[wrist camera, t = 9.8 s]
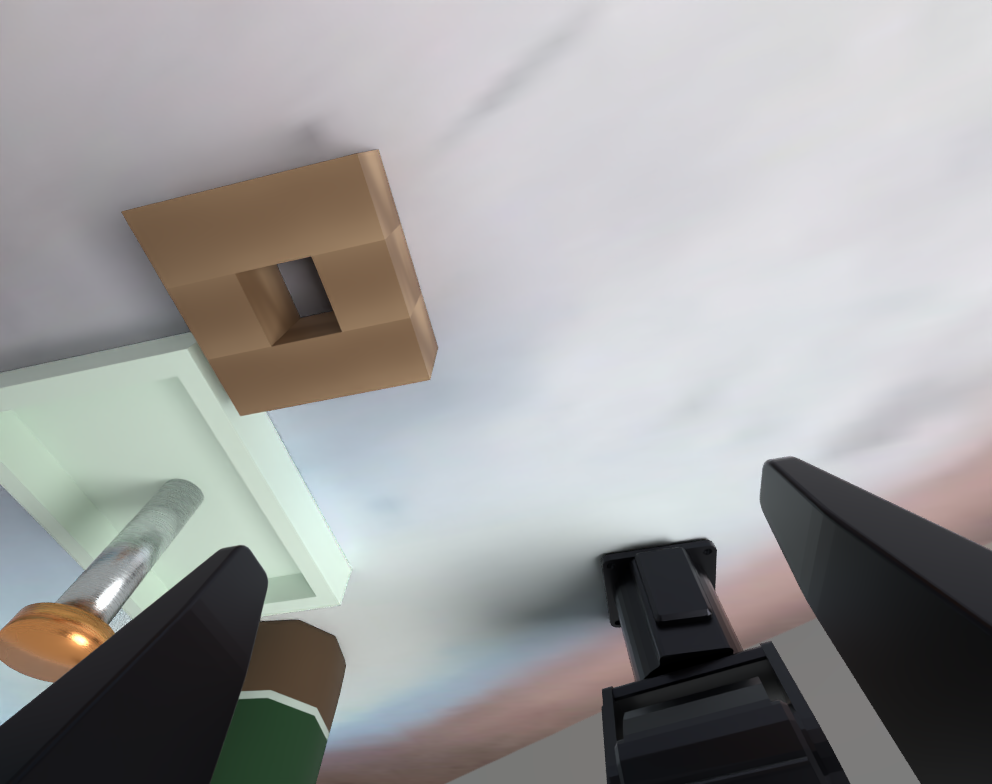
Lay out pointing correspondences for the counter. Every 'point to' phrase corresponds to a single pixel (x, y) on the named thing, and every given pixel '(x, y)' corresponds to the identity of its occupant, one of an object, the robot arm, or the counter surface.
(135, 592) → the tray
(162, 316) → the counter surface
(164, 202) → the block
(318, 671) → the beer bottle
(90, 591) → the pin
